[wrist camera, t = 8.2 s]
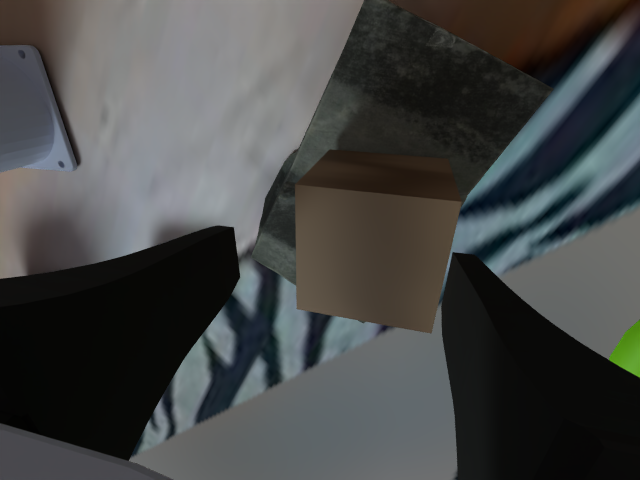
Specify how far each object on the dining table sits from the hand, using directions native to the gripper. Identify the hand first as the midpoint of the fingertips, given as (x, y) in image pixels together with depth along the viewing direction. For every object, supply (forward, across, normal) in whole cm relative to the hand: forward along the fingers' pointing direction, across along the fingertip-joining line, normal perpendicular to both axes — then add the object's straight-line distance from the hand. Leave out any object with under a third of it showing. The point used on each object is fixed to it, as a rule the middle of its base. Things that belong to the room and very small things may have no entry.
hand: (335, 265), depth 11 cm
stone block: (+11, 0, -1) cm, 11 cm away
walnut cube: (+6, -1, 0) cm, 6 cm away
